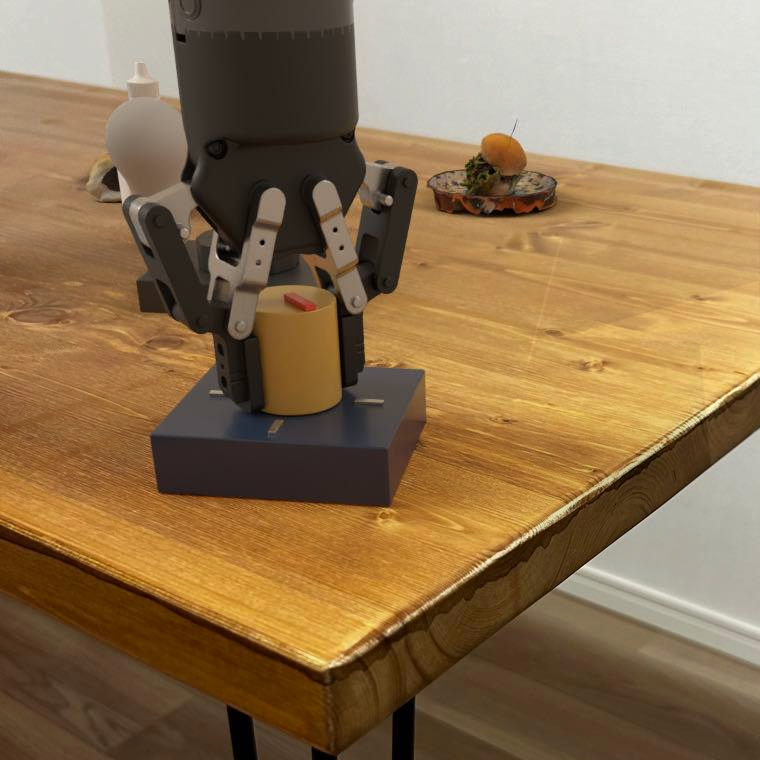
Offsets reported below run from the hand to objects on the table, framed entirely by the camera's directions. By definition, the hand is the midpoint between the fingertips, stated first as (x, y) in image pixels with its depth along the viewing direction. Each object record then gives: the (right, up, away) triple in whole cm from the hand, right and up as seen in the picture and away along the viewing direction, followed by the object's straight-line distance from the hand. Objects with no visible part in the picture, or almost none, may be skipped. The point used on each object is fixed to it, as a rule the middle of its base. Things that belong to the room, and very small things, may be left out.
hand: (295, 392), depth 58 cm
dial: (0, 0, 0) cm, 0 cm away
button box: (-8, +10, +24) cm, 27 cm away
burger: (+8, +23, +49) cm, 55 cm away
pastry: (-25, +24, +49) cm, 60 cm away
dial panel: (0, -3, +2) cm, 3 cm away
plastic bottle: (-20, +20, +42) cm, 51 cm away
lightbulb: (-17, +15, +33) cm, 40 cm away
